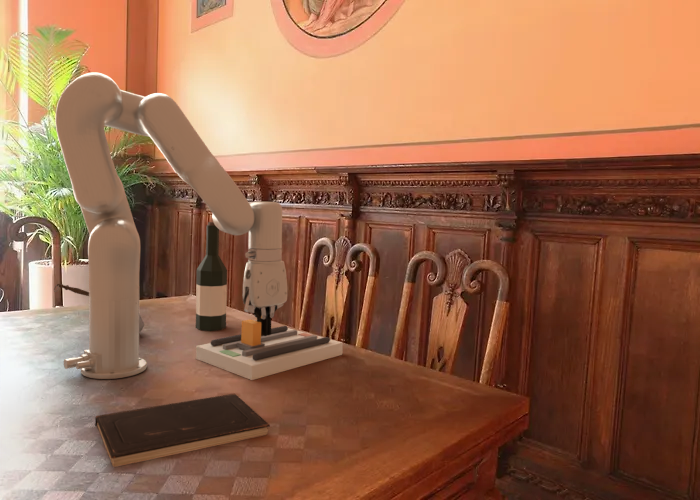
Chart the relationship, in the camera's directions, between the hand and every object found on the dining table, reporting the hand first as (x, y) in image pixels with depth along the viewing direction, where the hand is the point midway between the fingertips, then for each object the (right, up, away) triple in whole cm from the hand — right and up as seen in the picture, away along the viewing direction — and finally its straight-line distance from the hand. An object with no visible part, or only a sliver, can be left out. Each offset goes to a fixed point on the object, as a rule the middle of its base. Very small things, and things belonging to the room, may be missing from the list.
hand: (263, 334), depth 124 cm
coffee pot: (-43, -3, +12) cm, 45 cm away
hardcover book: (-7, -10, -39) cm, 41 cm away
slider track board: (+1, -6, +3) cm, 6 cm away
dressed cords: (+1, -3, +2) cm, 4 cm away
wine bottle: (-20, -3, +29) cm, 35 cm away
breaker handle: (-3, -3, -2) cm, 4 cm away
